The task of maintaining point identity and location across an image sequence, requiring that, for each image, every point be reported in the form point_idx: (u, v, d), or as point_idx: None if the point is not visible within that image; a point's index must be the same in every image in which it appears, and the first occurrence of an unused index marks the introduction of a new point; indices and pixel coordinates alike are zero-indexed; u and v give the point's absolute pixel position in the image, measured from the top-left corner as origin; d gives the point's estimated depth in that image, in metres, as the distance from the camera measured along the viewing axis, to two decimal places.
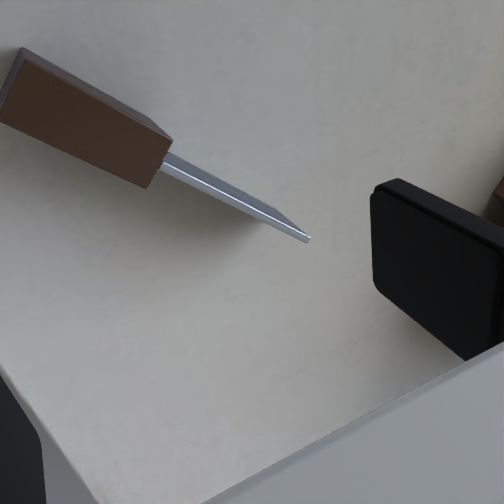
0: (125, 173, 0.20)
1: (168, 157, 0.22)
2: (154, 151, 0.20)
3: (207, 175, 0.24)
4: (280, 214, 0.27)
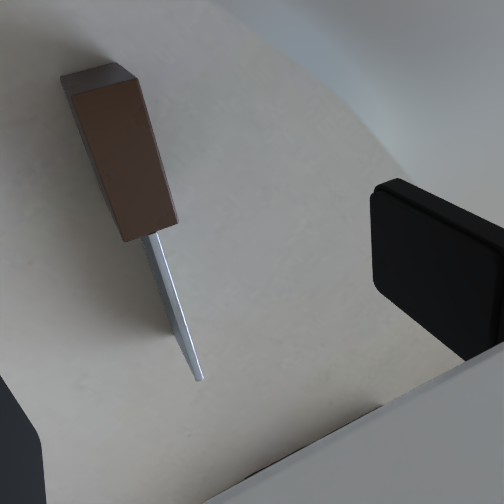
0: (121, 217, 0.19)
1: None
2: (158, 219, 0.20)
3: None
4: None
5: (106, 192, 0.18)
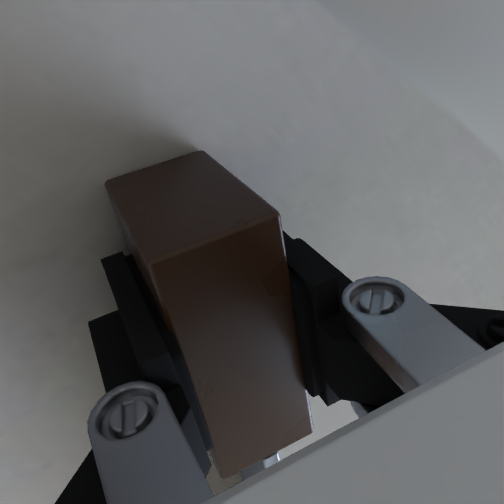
0: (223, 445, 0.10)
1: None
2: (283, 434, 0.11)
3: None
4: None
5: None
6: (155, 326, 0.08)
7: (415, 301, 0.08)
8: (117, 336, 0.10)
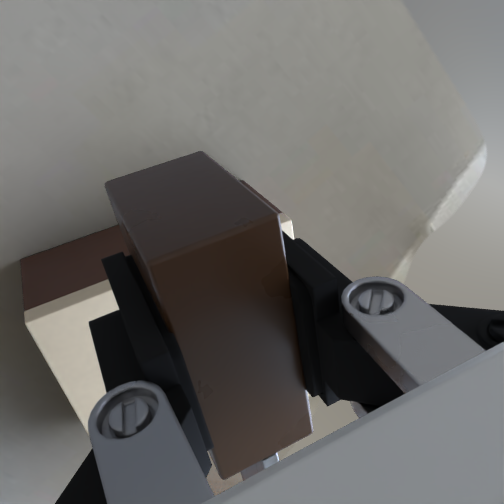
0: (223, 446, 0.10)
1: None
2: (283, 435, 0.11)
3: None
4: None
5: None
6: (155, 326, 0.08)
7: (415, 301, 0.08)
8: (118, 336, 0.10)
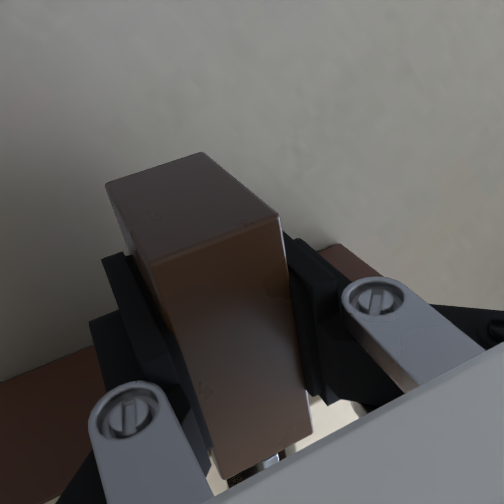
0: (223, 446, 0.10)
1: None
2: (283, 436, 0.11)
3: None
4: None
5: None
6: (155, 326, 0.08)
7: (415, 301, 0.08)
8: (118, 336, 0.10)
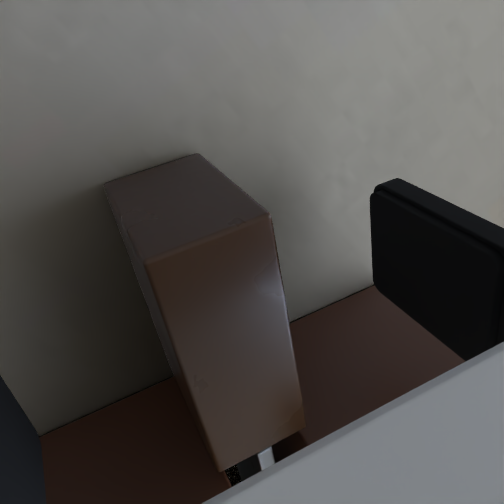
0: (218, 439, 0.11)
1: None
2: (277, 429, 0.11)
3: None
4: None
5: (196, 407, 0.10)
6: None
7: None
8: None
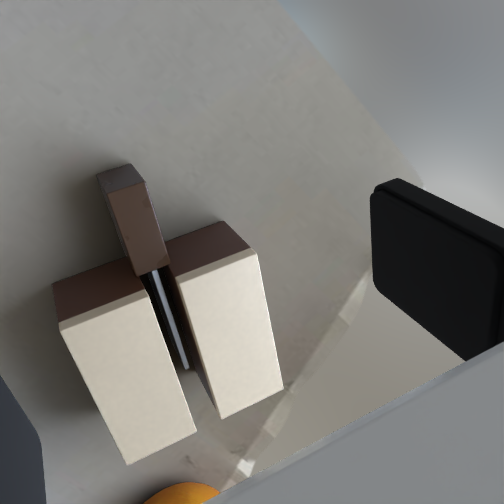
0: (135, 261, 0.31)
1: None
2: (158, 262, 0.31)
3: None
4: None
5: (126, 246, 0.30)
6: None
7: None
8: None
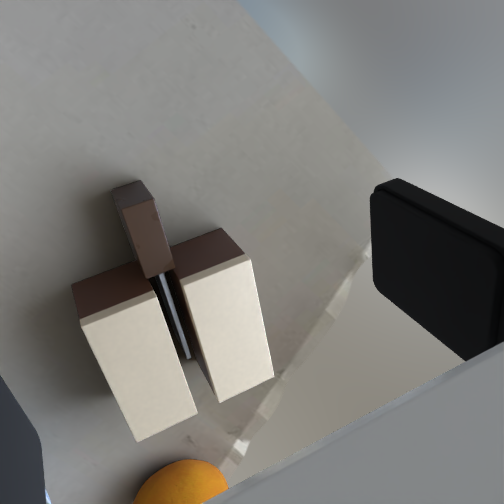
0: (145, 266, 0.35)
1: None
2: (164, 266, 0.36)
3: None
4: None
5: (137, 254, 0.35)
6: None
7: None
8: None
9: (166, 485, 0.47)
